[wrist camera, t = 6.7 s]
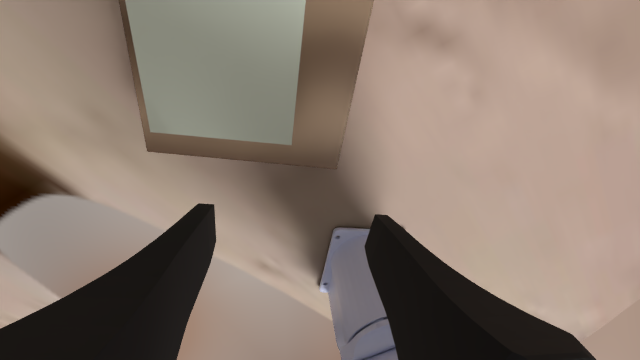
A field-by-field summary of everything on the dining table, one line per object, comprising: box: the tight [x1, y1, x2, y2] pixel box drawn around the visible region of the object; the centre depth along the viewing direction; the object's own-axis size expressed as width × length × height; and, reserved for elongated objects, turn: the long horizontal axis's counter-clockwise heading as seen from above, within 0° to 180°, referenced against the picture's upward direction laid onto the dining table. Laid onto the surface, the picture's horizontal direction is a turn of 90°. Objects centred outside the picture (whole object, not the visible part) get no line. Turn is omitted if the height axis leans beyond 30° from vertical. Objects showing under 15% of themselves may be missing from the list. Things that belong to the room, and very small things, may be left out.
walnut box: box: [119, 0, 374, 169], centre depth 15 cm, size 12×12×4 cm
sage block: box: [125, 0, 306, 145], centre depth 11 cm, size 5×5×6 cm
